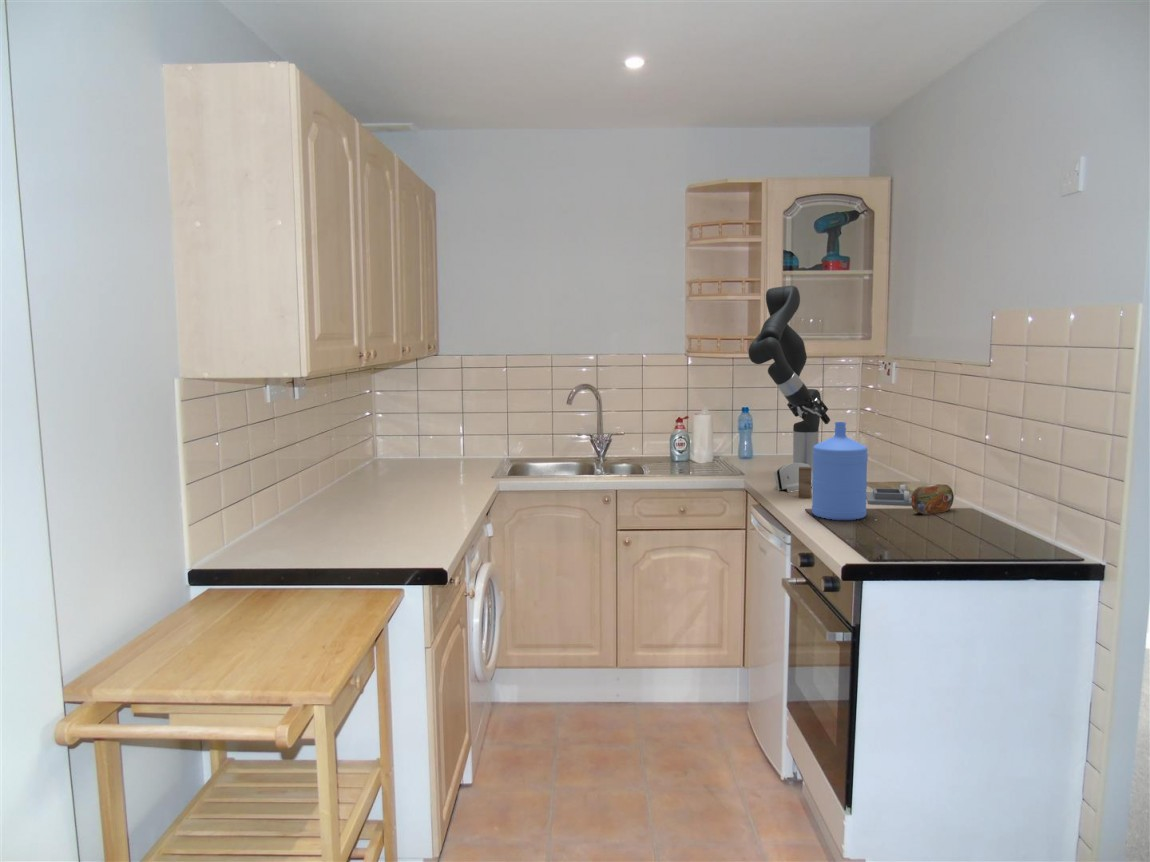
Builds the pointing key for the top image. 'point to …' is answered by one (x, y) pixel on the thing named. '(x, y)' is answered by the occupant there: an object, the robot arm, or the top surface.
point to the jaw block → (804, 482)
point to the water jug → (839, 477)
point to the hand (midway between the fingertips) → (819, 422)
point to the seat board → (889, 496)
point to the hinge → (789, 476)
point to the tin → (932, 499)
